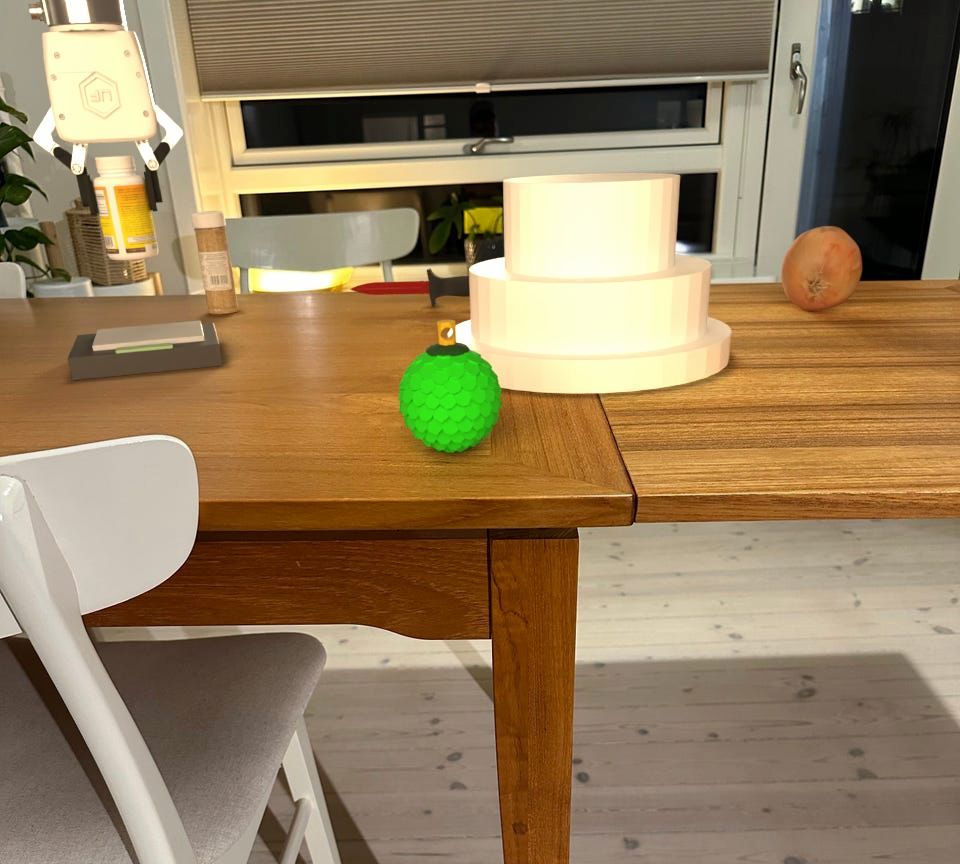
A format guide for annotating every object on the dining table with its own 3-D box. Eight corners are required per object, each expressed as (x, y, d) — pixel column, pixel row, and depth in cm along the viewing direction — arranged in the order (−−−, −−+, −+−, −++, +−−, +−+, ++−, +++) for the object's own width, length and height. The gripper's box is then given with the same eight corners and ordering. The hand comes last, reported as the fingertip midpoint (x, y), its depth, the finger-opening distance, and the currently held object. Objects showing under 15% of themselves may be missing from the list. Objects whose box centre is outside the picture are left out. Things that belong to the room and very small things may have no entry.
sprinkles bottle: (242, 309, 141) (227, 209, 135) (235, 314, 137) (219, 212, 131) (211, 310, 141) (195, 211, 135) (203, 315, 137) (186, 214, 131)
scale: (72, 380, 104) (66, 352, 102) (82, 355, 116) (76, 329, 114) (222, 365, 107) (218, 338, 106) (216, 342, 119) (212, 317, 118)
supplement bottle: (168, 254, 109) (150, 154, 104) (145, 261, 104) (125, 156, 99) (123, 255, 110) (103, 156, 105) (98, 261, 105) (76, 158, 100)
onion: (852, 303, 126) (864, 221, 121) (859, 317, 118) (872, 229, 113) (776, 303, 128) (784, 223, 124) (777, 317, 120) (786, 231, 115)
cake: (478, 405, 88) (470, 193, 80) (429, 342, 114) (419, 178, 106) (780, 378, 93) (802, 175, 84) (667, 324, 119) (676, 165, 110)
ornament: (494, 432, 80) (490, 308, 76) (511, 461, 73) (508, 327, 69) (398, 440, 79) (388, 315, 75) (406, 470, 72) (396, 335, 68)
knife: (514, 302, 137) (514, 265, 134) (514, 304, 135) (513, 267, 133) (352, 306, 139) (348, 270, 137) (350, 308, 138) (346, 271, 136)
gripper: (-12, 14, 91) (38, 220, 100) (174, 11, 95) (206, 209, 104) (0, 22, 97) (45, 215, 106) (173, 19, 101) (203, 205, 110)
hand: (124, 210), depth 105 cm, fingers closed on supplement bottle, 5 cm apart
